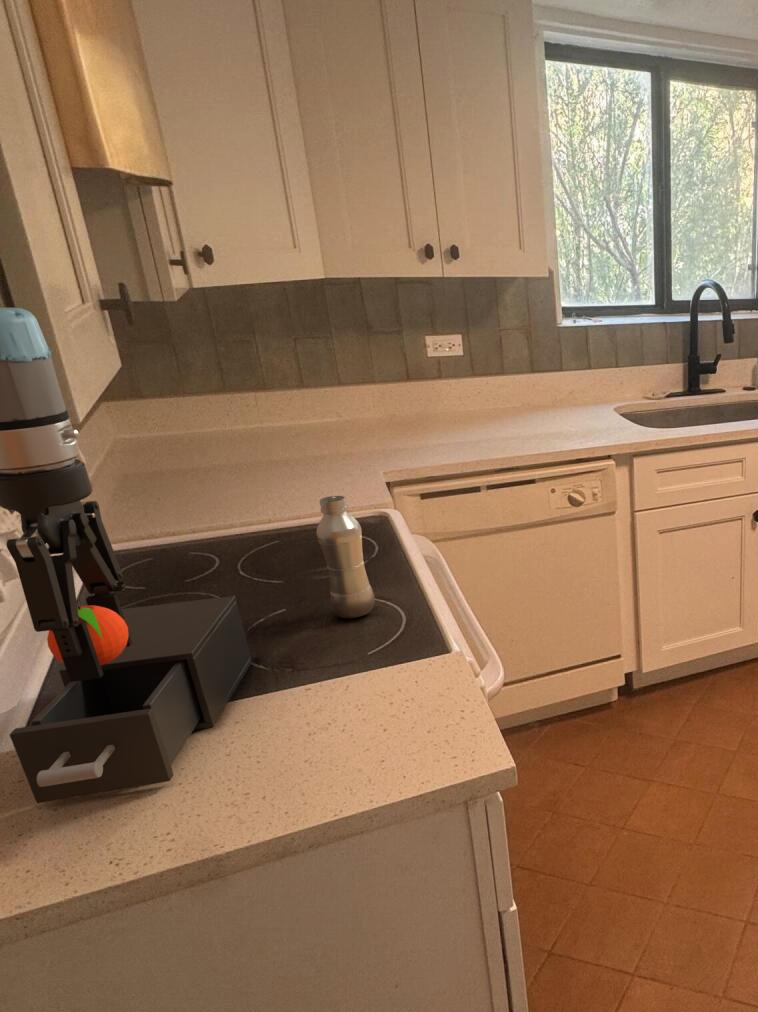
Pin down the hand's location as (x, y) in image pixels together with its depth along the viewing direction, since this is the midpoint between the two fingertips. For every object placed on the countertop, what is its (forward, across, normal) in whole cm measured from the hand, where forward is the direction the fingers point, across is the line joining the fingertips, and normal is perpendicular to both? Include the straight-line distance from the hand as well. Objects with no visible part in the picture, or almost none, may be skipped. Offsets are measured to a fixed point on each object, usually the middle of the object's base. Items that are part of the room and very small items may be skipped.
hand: (102, 661), depth 88 cm
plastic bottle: (+13, +35, -19) cm, 42 cm away
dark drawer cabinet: (+13, +14, 0) cm, 19 cm away
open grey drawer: (+12, -2, 0) cm, 12 cm away
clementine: (0, 0, 0) cm, 1 cm away
